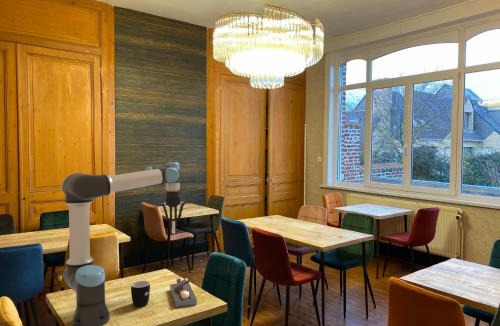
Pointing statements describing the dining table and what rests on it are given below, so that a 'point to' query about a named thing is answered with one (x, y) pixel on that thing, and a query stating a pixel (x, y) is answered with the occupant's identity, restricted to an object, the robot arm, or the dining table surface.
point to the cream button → (184, 295)
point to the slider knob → (178, 279)
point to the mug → (140, 293)
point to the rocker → (181, 283)
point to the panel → (177, 296)
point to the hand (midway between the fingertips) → (173, 232)
